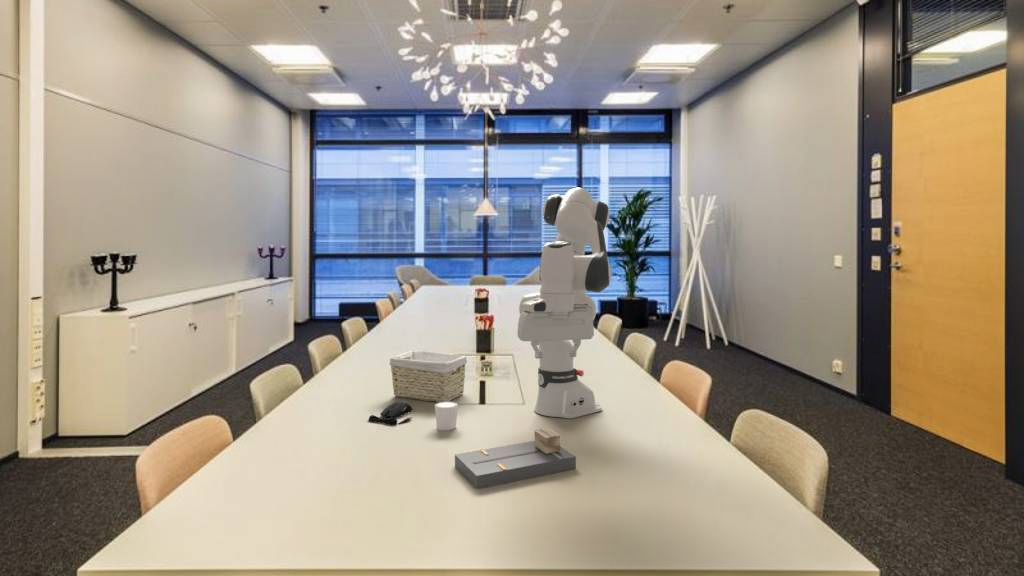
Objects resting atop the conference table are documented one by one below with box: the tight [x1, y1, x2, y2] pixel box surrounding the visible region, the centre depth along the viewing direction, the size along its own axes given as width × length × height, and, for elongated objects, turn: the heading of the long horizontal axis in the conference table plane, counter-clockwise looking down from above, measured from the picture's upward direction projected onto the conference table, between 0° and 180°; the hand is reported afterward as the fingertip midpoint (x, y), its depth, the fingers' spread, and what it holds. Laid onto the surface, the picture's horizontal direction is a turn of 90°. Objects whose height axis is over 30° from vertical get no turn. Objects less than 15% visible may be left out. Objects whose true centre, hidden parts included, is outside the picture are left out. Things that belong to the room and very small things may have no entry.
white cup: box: [434, 401, 459, 431], centre depth 164 cm, size 7×7×7 cm
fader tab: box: [533, 428, 561, 454], centre depth 138 cm, size 4×6×4 cm, turn 26°
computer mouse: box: [368, 400, 414, 426], centre depth 175 cm, size 12×17×4 cm
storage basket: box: [389, 350, 468, 403], centre depth 199 cm, size 24×16×15 cm
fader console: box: [454, 440, 577, 490], centre depth 135 cm, size 26×14×3 cm, turn 116°
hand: (555, 357), depth 143 cm, fingers open, 8 cm apart
